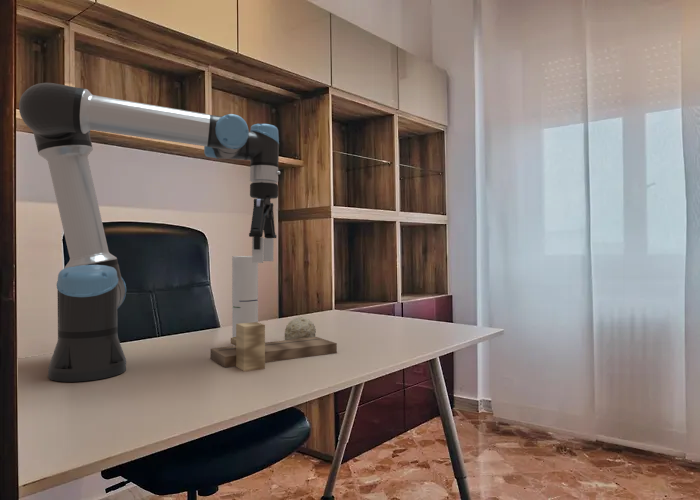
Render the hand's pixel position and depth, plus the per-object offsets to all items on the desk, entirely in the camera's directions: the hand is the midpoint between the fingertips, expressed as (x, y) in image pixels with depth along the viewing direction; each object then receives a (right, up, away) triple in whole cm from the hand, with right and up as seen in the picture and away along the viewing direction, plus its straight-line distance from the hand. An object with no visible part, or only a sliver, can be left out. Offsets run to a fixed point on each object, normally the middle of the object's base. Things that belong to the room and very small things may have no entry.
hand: (263, 262), depth 136 cm
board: (+4, -24, -7) cm, 25 cm away
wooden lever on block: (-2, -24, -16) cm, 29 cm away
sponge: (+9, -24, +9) cm, 27 cm away
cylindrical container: (-6, -24, +8) cm, 26 cm away
